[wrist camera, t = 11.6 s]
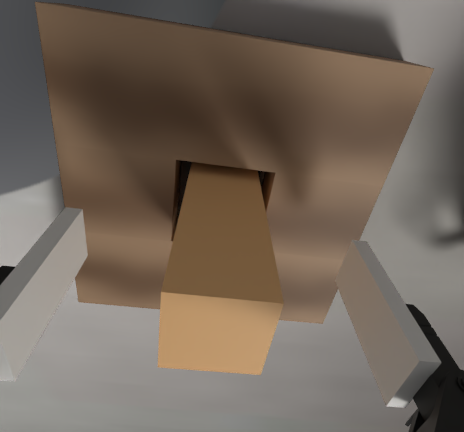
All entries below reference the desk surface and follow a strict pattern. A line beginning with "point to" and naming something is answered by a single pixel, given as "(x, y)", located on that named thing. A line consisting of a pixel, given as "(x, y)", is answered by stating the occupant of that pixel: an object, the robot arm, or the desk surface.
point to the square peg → (220, 276)
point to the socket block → (217, 142)
